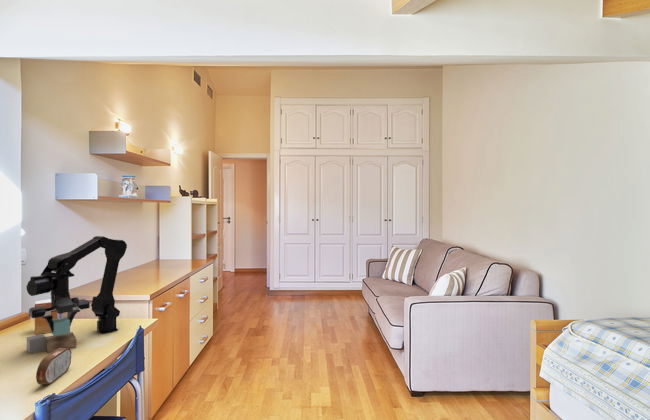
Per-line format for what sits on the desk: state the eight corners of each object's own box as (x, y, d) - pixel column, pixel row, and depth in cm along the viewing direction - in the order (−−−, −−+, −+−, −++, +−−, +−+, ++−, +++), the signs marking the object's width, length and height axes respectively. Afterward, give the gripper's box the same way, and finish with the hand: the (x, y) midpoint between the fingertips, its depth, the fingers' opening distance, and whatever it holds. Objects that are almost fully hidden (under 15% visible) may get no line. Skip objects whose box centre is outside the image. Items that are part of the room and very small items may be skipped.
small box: (34, 335, 164) (34, 304, 164) (35, 330, 170) (35, 300, 169) (58, 331, 169) (57, 301, 168) (58, 327, 174) (58, 298, 174)
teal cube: (66, 329, 155) (66, 317, 155) (70, 332, 151) (69, 320, 151) (51, 333, 151) (51, 320, 151) (54, 336, 148) (54, 323, 148)
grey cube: (42, 346, 152) (42, 333, 152) (46, 350, 148) (46, 337, 148) (26, 350, 148) (26, 337, 148) (29, 354, 145) (29, 340, 145)
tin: (63, 368, 133) (63, 343, 133) (73, 368, 133) (73, 343, 133) (34, 389, 118) (34, 362, 118) (46, 389, 118) (45, 362, 118)
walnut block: (72, 341, 158) (72, 331, 158) (76, 348, 151) (76, 338, 151) (45, 347, 152) (45, 336, 152) (47, 354, 145) (47, 343, 145)
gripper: (35, 298, 138) (36, 342, 139) (94, 289, 152) (94, 329, 153) (28, 292, 146) (28, 334, 147) (84, 284, 160) (85, 322, 160)
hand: (60, 330), depth 151 cm, fingers closed on teal cube, 5 cm apart
